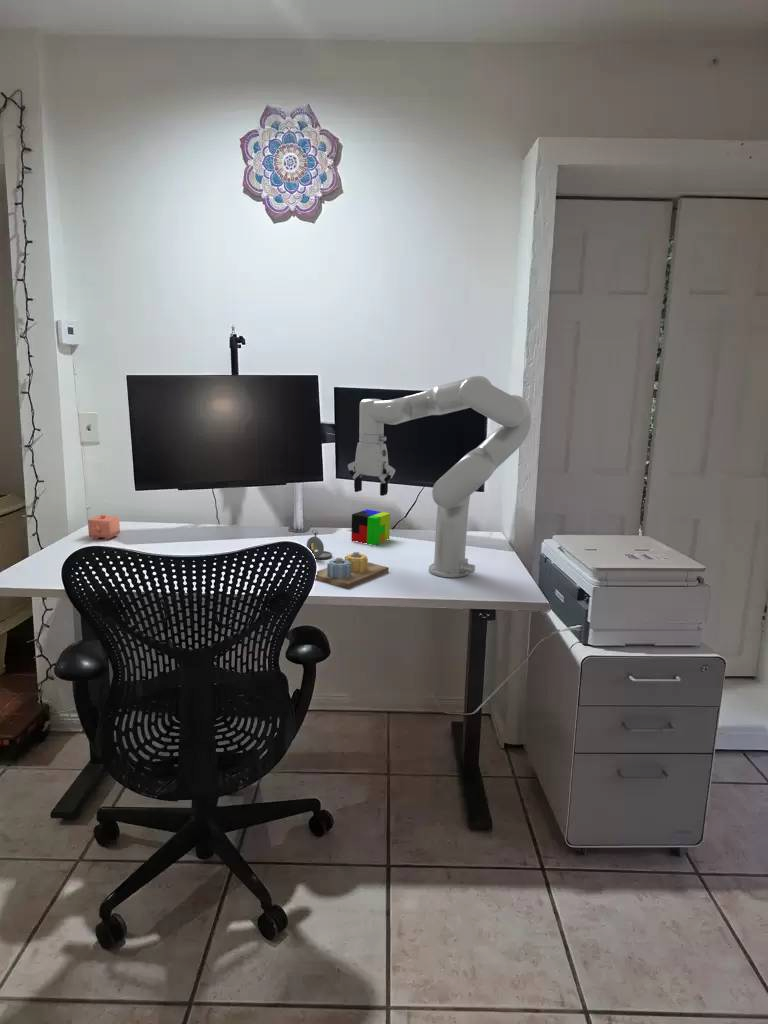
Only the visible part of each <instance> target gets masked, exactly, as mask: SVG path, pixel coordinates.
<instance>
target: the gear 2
mask: <svg viewBox="0 0 768 1024" xmlns="http://www.w3.org/2000/svg"><path fill="white" fill-rule="evenodd" d="M368 559H369V558H368V556H367V555H366V554H363V553H360V552H359V558H354V557H353V553H349V554H346V555H345V556H344V560H348V561H349V563H351V572H355V571H359V572H363V570H367V569H368V562H369V561H368Z"/></svg>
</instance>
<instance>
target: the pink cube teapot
mask: <svg viewBox="0 0 768 1024" xmlns="http://www.w3.org/2000/svg"><path fill="white" fill-rule="evenodd" d="M120 525H121V524H120V517H119V516H115V515H107V514H98V515H96V516H94V517H91V518H90V519H89V518H88V520H87V527H88V530H87V531H88V537H90V538H91V537H92V538H94V539H93V540H99V539H100V538H104V540H105V539H110V540H111V538H115V537H114V536H117V535H119V534H121V527H120ZM98 538H99V539H98Z"/></svg>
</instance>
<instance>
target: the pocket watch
mask: <svg viewBox="0 0 768 1024" xmlns="http://www.w3.org/2000/svg"><path fill="white" fill-rule="evenodd" d="M311 532H312V534H313V535H314V536H311V537H309V538H308V539H307V541H306V548H307V547H308V548H309V549H310V550H311V551H312V553H313V554H314V556H315V557H316V558H315V559H320V560H323V559H330V558H331V557H332V556H333V554H332V552H330V551H326V550H324V549H325V546H324V543H323V541H322V539H321V538H320V537H317V535H319V531H318V530H316V529H312V530H311Z"/></svg>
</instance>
